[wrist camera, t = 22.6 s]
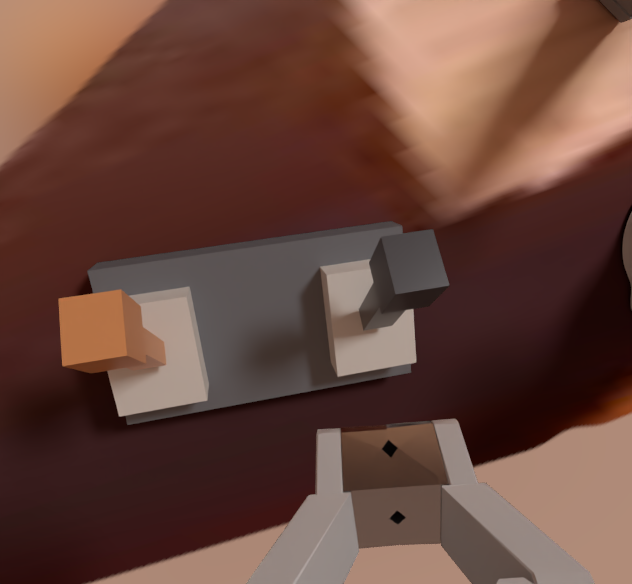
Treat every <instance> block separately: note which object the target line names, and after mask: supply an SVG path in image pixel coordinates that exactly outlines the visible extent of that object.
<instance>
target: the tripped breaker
mask: <svg viewBox="0 0 632 584" xmlns="http://www.w3.org/2000/svg"><path fill="white" fill-rule="evenodd" d="M59 316H60V333H61V350H62V366H63V367H67V368H71V369H75V370H79V371H83V372H87V373H97V372H103V371H109V370H115V369H121V368H128V369H131V370H140V369H146V368H152V367H158V366H164V365H166V355H165V346H164V342H163V341H162V340H161V339H159V338H158V337H156V336H155V335H154V334H152V333H151V332H149V331H148V330H147V329H145V328H144V327H143V324H142V313H141V306H140V305H139V304H138V303H136V302H135V301H134V300H133V299H132V298H131V297H129V296H128V295H127V294H126V293H125V292H124V291H122V290H121V289H120V290H113V291H107V292H100V293H93V294H87V295H80V296H73V297H67V298H60V299H59Z"/></svg>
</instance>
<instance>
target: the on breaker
mask: <svg viewBox="0 0 632 584" xmlns="http://www.w3.org/2000/svg"><path fill="white" fill-rule="evenodd" d="M369 265H370V270H371V274H372V278H373V284H372V286H371V288H370V290H369V291H368V293H367V295H366V297H365V299H364V301H363V303H362V304H361V306H360V308H359V313H360V318H361V322H362V326H363V331H365V330H371V329H377V328H382V327H388V326H392V325H393V324H394V323H395V322H396V321H397V320H398V318H399V317H400V316H401V315H402V314H403V313H404V312H405V310H410V309H416V308H422V307H428V306H430V305H431V304H432V303H433V302H434V301H435V300H436V299H437V298H438V297H439V296H440V295H441V294H442V293H443V292H444V291H445V290H446V289H447V288H448V287H449V282H448V279H447V276H446V272H445V269H444V265H443V262H442V259H441V255H440V252H439V248H438V245H437V242H436V238H435V235H434V231H433V229H431V230H424V231H417V232H410V233H403V234H396V235H389V236H383V237H381V238H380V240H379V242H378V244H377V246H376V248H375V251H374V253H373V255H372V257H371V259H370V261H369Z"/></svg>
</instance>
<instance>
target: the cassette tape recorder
mask: <svg viewBox="0 0 632 584" xmlns="http://www.w3.org/2000/svg"><path fill="white" fill-rule="evenodd" d="M599 1H600V2H601V3H602V4H603V5H604V6H605V7H606V8H607V9H608V10H609V11H610V12H611V13H612V14H613V15H614V16H615V17H616V18H617V19H618V20H619V21H620V22H624V21H627V20H630V19H631V18H632V0H599Z"/></svg>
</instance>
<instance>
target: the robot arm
mask: <svg viewBox="0 0 632 584" xmlns="http://www.w3.org/2000/svg"><path fill="white" fill-rule="evenodd" d="M622 253H623V262H624V267H625V270H626V273H627V275H628V278H629V280H630V284H631V309H632V212H631V214H630V216H629V219H628V221H627V224H626V228H625V232H624V237H623V246H622ZM438 543H441V546H442V547H443V548H444V550H445V551H446V552H447V553H448V555H449V556H450V557H451V558H452V560H453V561H454V562H455V563H456V564H457V566H458V567H459V568H460V569H461V571H462V572H463V573H464V574H465V576H466V577H467V578H468V579H469V581H470V582H471V583H472V584H595V583H594V581H593V579H592V577H591V575H590V572H589V571H588V570H586V569H585V568H584V567H583V566H582V565H581V564H579V563H578V562H577V561H576V560H575V559H574V558H573V557H571V556H570V555H569V554H568V553H567V552H566V551H564V550H563V549H562V548H561V547H560V546H559V545H557V544H556V543H555V542H554V541H553V540H552V539H550V538H549V537H548V536H547V535H546V534H545V533H543V532H542V531H541V530H540V529H539V528H538V527H536V526H535V525H534V524H533V523H532V522H531V521H530V520H528V519H527V518H526V517H525V516H524V515H522V514H521V513H520V512H519V511H518V510H517V509H516V508H514V507H513V506H512V505H511V504H510V503H509V502H507V501H506V500H505V499H504V498H503V497H502V496H500V495H499V494H498V493H497V492H496V491H495V490H493V489H492V488H491V487H490V486H489V485H488V484H487V483H478V481H477V479H476V475H475V472H474V469H473V466H472V463H471V460H470V457H469V454H468V451H467V448H466V444H465V441H464V438H463V435H462V432H461V429H460V426H459V423H458V421H457V420H456V419H445V420H433V421H432V422H431V421H421V422H410V423H399V424H388V425H382V426H364V427H346V428H336V429H318V431H317V435H316V491H315V495H308V497H307V498H306V500H305V501H304V502H303V504H302V505H301V507H300V508H299V510H298V511H297V512H296V514H295V515H294V517H293V518H292V519H291V521H290V522H289V524H288V525H287V527H286V528H285V530H284V531H283V532H282V534H281V535H280V536H279V538H278V539H277V541H276V542H275V544H274V545H273V546H272V548H271V549H270V551H269V552H268V553H267V555H266V556H265V558H264V559H263V561H262V562H261V563H260V565H259V566H258V568H257V569H256V571H255V572H254V573H253V575H252V576H251V578H250V579H249V580H248V582H247V583H246V584H344V582H345V580H346V577H347V575H348V573H349V571H350V569H351V567H352V565H353V563H354V561H355V558H356V557H357V554H358V552H359V548H369V547H380V546H392V545H409V544H438Z"/></svg>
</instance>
